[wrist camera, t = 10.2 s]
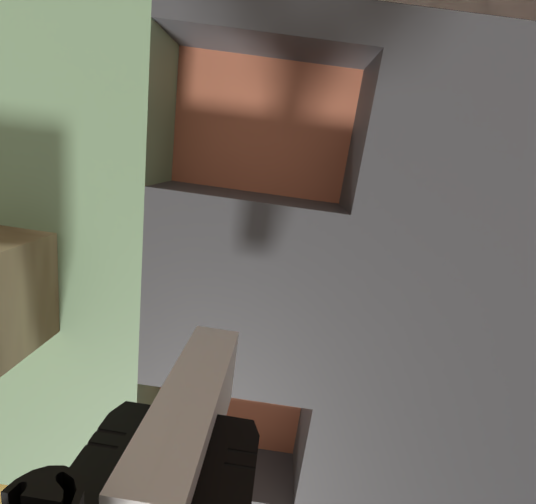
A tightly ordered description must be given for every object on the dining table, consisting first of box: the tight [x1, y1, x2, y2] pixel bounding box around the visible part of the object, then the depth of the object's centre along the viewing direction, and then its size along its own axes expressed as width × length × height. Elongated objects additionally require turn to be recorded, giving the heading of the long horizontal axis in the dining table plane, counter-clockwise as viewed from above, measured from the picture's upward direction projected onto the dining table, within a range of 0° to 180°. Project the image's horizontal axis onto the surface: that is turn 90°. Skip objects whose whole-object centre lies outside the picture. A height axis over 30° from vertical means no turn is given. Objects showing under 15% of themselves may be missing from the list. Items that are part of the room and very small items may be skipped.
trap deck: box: [0, 0, 536, 504], centre depth 19 cm, size 34×26×4 cm
